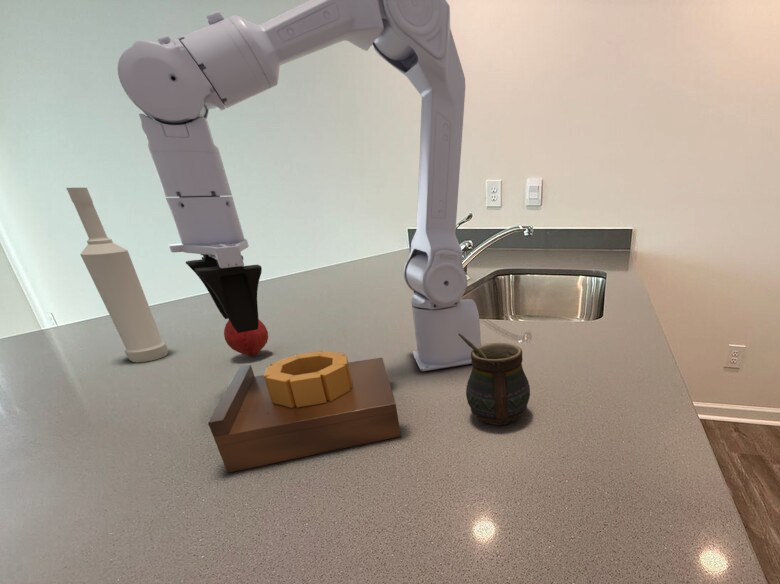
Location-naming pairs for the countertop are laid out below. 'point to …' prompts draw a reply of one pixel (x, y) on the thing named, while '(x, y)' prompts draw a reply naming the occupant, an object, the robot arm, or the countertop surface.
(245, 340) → the red pomegranate
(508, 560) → the countertop surface
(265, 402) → the shelf
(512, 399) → the mate gourd
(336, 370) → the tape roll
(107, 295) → the bottle
